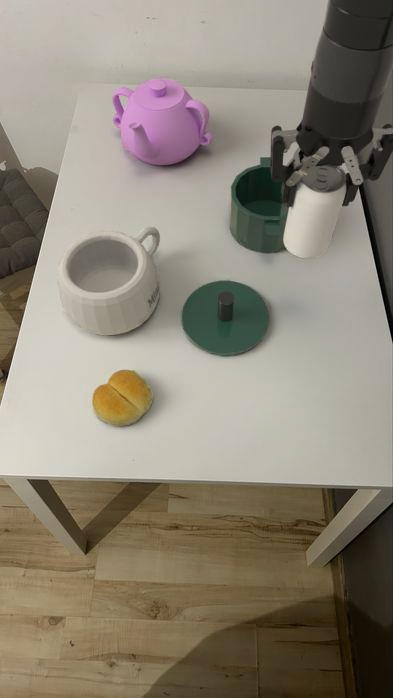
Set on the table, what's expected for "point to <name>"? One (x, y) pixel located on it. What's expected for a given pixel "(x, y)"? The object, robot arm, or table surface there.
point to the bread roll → (122, 398)
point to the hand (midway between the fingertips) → (316, 201)
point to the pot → (258, 209)
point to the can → (315, 211)
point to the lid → (225, 317)
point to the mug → (109, 281)
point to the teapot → (161, 122)
